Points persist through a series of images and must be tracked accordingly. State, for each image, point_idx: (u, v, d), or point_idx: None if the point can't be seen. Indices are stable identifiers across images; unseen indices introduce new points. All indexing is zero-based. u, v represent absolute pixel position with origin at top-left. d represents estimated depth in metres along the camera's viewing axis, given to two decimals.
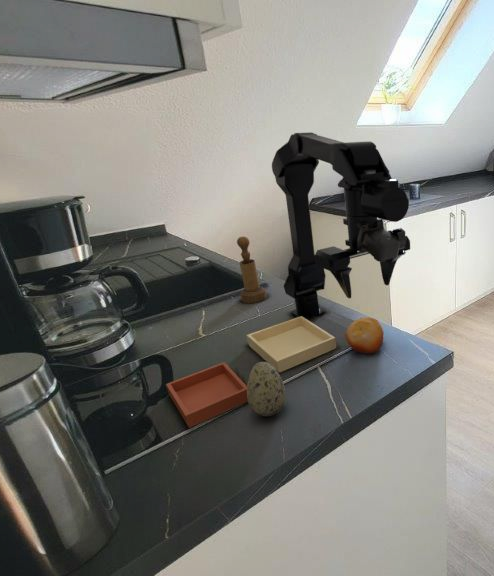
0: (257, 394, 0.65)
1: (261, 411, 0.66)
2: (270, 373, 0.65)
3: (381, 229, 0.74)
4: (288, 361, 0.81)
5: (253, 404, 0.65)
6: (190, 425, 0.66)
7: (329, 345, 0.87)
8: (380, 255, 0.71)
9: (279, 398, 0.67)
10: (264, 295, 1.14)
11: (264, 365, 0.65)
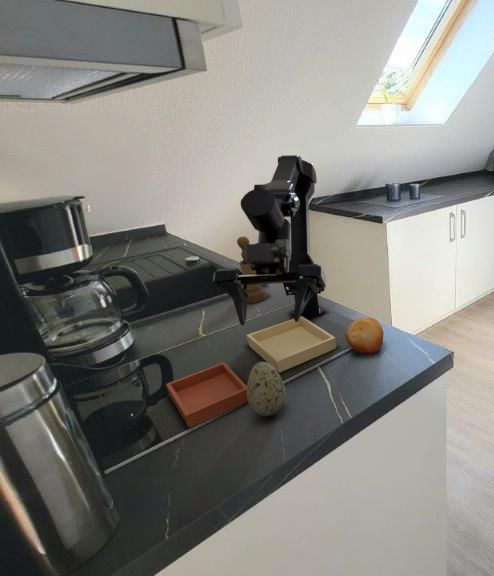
0: (257, 394, 0.65)
1: (261, 411, 0.66)
2: (270, 373, 0.65)
3: None
4: (288, 361, 0.81)
5: (253, 404, 0.65)
6: (190, 425, 0.66)
7: (329, 345, 0.87)
8: (246, 255, 0.68)
9: (279, 398, 0.67)
10: (264, 295, 1.14)
11: (264, 365, 0.65)
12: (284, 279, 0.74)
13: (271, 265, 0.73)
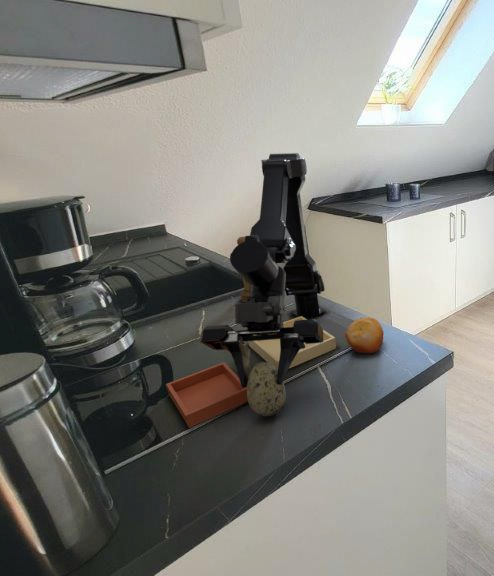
0: (257, 394, 0.65)
1: (261, 411, 0.66)
2: (270, 373, 0.65)
3: None
4: None
5: (253, 404, 0.65)
6: (190, 425, 0.66)
7: (329, 345, 0.87)
8: (235, 315, 0.62)
9: (279, 398, 0.67)
10: None
11: (264, 365, 0.65)
12: (267, 336, 0.68)
13: (264, 322, 0.67)
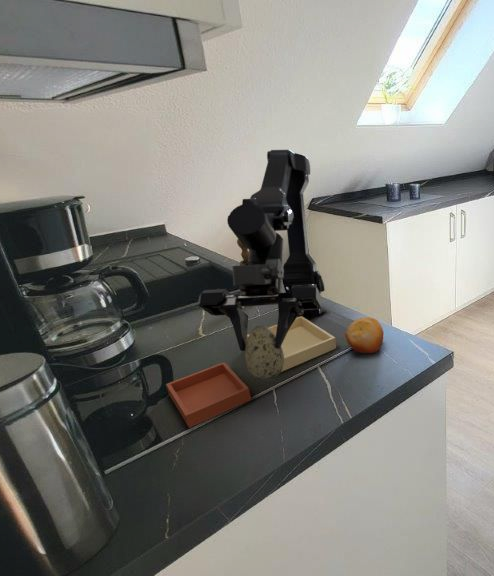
0: (255, 357, 0.65)
1: (260, 375, 0.66)
2: (268, 336, 0.66)
3: None
4: (288, 361, 0.81)
5: (252, 368, 0.66)
6: (190, 425, 0.66)
7: (329, 345, 0.87)
8: (233, 277, 0.62)
9: (277, 362, 0.67)
10: None
11: (263, 329, 0.65)
12: (265, 301, 0.68)
13: (262, 286, 0.67)
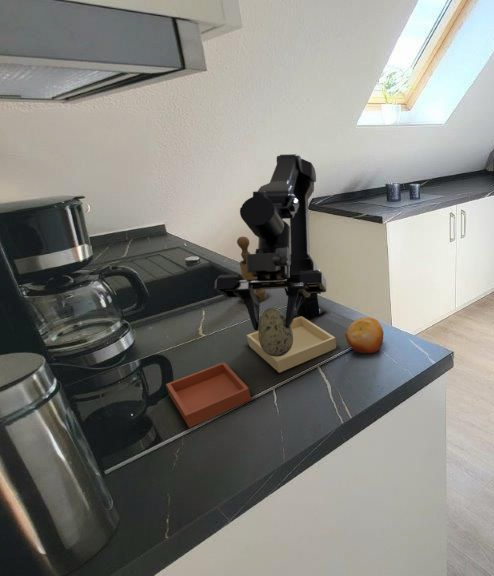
0: (268, 336, 0.72)
1: (272, 352, 0.73)
2: (279, 317, 0.73)
3: None
4: (288, 361, 0.81)
5: (265, 345, 0.73)
6: (190, 425, 0.66)
7: (329, 345, 0.87)
8: (247, 265, 0.68)
9: (287, 340, 0.74)
10: (264, 295, 1.14)
11: (274, 311, 0.72)
12: (275, 285, 0.75)
13: (272, 272, 0.73)
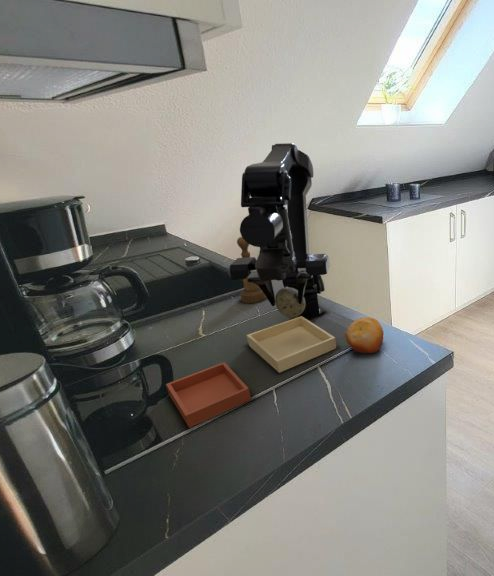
0: (285, 311, 0.85)
1: None
2: (292, 298, 0.84)
3: (280, 250, 0.77)
4: (288, 361, 0.81)
5: (283, 314, 0.87)
6: (190, 425, 0.66)
7: (329, 345, 0.87)
8: (258, 275, 0.74)
9: (302, 309, 0.87)
10: (264, 295, 1.14)
11: (287, 294, 0.83)
12: None
13: None
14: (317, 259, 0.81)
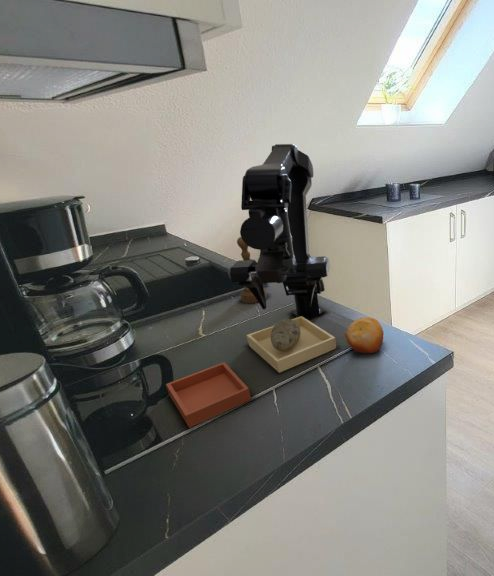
0: None
1: None
2: (290, 344, 0.84)
3: (280, 253, 0.77)
4: (288, 361, 0.81)
5: None
6: (190, 425, 0.66)
7: (329, 345, 0.87)
8: (258, 278, 0.74)
9: (299, 336, 0.89)
10: None
11: (284, 346, 0.83)
12: None
13: None
14: (317, 262, 0.81)
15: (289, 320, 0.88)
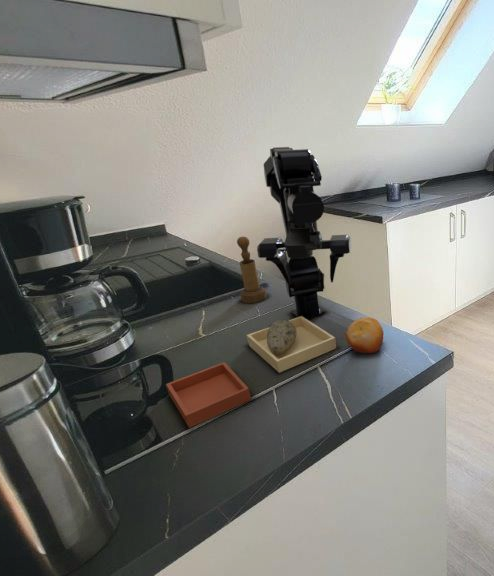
0: None
1: None
2: (286, 345, 0.84)
3: (307, 229, 0.82)
4: (288, 361, 0.81)
5: None
6: (190, 425, 0.66)
7: (329, 345, 0.87)
8: (287, 252, 0.79)
9: (296, 334, 0.88)
10: (264, 295, 1.14)
11: (281, 349, 0.83)
12: None
13: None
14: (340, 239, 0.85)
15: (281, 321, 0.87)
